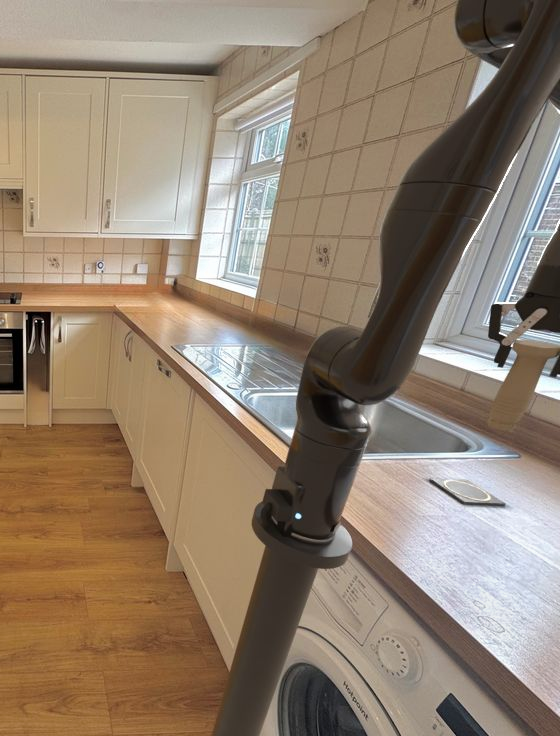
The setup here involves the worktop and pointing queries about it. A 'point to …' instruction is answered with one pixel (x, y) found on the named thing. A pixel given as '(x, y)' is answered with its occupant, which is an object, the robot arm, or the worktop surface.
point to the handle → (520, 382)
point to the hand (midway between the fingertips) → (526, 370)
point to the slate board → (467, 492)
